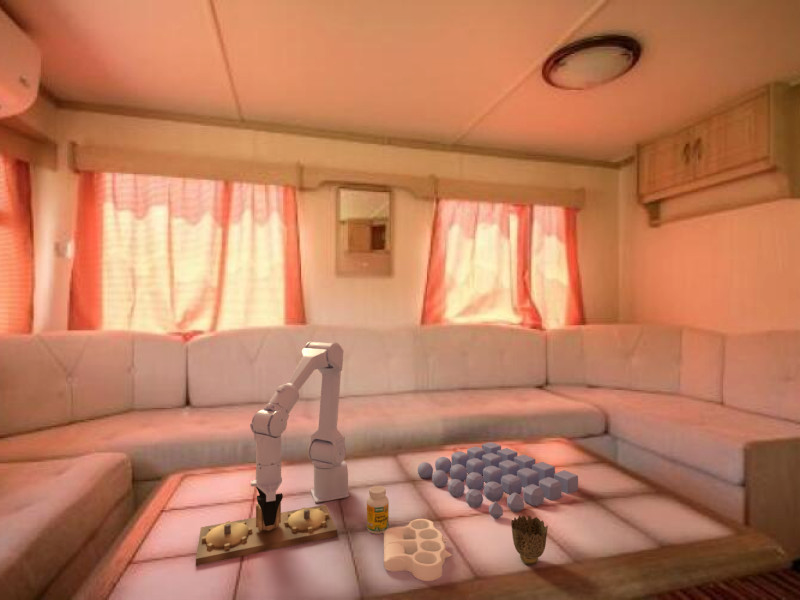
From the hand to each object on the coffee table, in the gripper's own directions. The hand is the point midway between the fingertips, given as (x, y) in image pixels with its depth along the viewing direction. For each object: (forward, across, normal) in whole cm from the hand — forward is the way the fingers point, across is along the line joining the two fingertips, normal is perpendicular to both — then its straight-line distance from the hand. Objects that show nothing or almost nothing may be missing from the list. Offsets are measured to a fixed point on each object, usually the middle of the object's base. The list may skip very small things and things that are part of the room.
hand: (268, 518), depth 97 cm
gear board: (+4, 0, 0) cm, 4 cm away
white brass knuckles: (+5, +20, +30) cm, 36 cm away
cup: (+4, +31, +51) cm, 60 cm away
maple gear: (+1, 0, 0) cm, 1 cm away
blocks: (+5, -4, +66) cm, 67 cm away
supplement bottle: (+4, +7, +25) cm, 26 cm away
